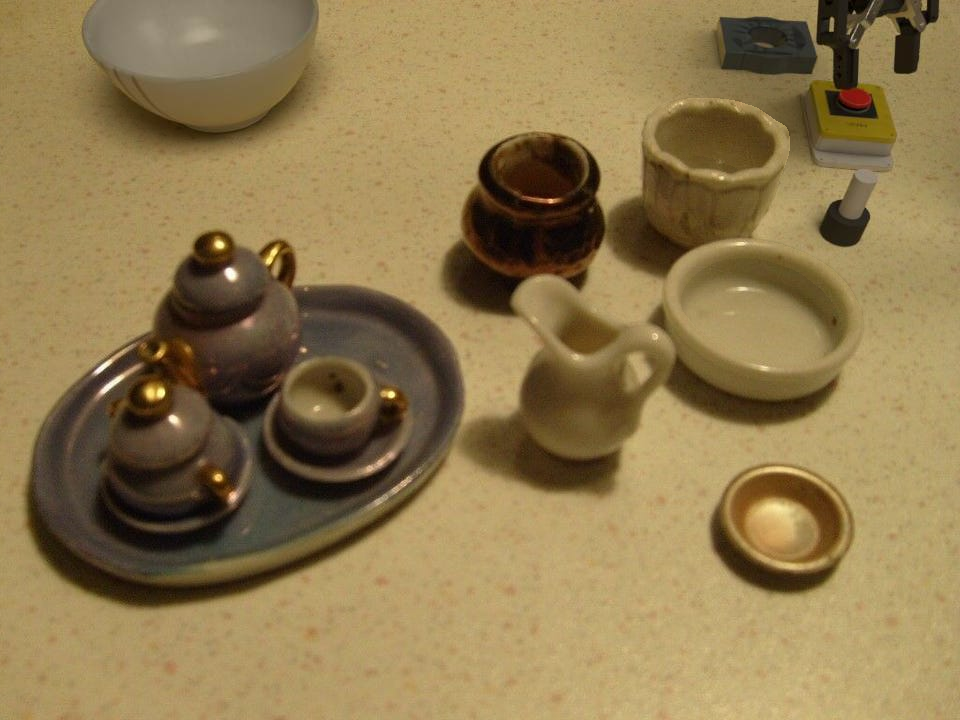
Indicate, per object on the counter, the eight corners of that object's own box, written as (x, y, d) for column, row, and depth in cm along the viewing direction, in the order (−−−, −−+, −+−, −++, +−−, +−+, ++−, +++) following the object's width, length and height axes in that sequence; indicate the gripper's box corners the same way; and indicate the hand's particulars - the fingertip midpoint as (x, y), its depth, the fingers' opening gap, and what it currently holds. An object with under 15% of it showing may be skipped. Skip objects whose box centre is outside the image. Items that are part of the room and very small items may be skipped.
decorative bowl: (89, 171, 100) (51, 79, 90) (141, 46, 117) (113, -43, 107) (320, 170, 100) (306, 79, 91) (338, 46, 117) (327, -42, 108)
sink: (800, 35, 121) (806, 18, 119) (812, 76, 114) (818, 59, 112) (714, 30, 121) (718, 14, 119) (721, 71, 115) (726, 54, 113)
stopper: (856, 221, 96) (883, 163, 90) (864, 248, 93) (892, 190, 87) (816, 218, 96) (840, 160, 90) (823, 245, 94) (848, 188, 87)
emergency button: (885, 69, 108) (908, 142, 98) (872, 99, 111) (893, 172, 102) (810, 63, 108) (826, 135, 99) (799, 93, 112) (813, 165, 102)
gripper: (864, -100, 73) (857, 96, 79) (973, -116, 78) (958, 68, 85) (795, -88, 79) (794, 93, 86) (901, -104, 84) (892, 67, 91)
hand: (876, 81), depth 85 cm, fingers open, 8 cm apart
